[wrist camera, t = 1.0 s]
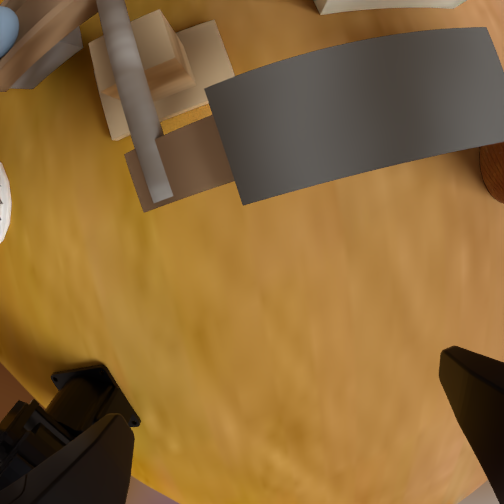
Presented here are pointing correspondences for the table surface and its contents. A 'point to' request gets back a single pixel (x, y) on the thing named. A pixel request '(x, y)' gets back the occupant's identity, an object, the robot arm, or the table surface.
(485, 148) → the disposable coffee cup
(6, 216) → the decorative candle
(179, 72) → the fulcrum stand
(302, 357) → the table surface
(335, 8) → the white storage tray
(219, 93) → the lever
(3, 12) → the ball
